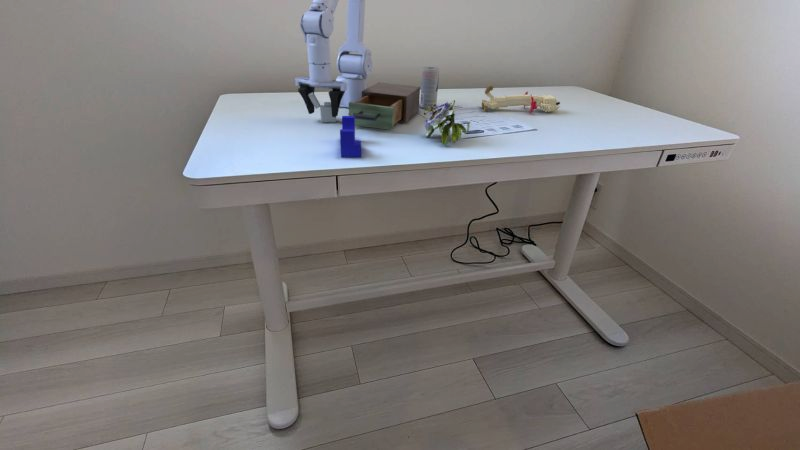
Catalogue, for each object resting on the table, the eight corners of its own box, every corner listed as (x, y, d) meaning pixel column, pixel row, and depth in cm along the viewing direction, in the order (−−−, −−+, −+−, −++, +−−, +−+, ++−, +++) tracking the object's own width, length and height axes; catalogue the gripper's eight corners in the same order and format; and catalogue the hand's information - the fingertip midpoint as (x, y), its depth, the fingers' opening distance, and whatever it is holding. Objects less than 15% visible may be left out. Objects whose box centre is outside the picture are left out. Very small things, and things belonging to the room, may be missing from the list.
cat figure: (485, 117, 125) (564, 113, 124) (487, 89, 120) (569, 85, 120) (479, 109, 133) (553, 105, 133) (481, 82, 129) (557, 78, 128)
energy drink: (436, 105, 131) (439, 67, 125) (436, 109, 126) (439, 70, 120) (420, 104, 131) (422, 66, 125) (419, 108, 127) (421, 69, 120)
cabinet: (405, 123, 112) (406, 96, 108) (361, 117, 116) (361, 91, 112) (418, 111, 123) (420, 86, 119) (378, 106, 127) (378, 82, 123)
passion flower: (427, 156, 105) (419, 113, 106) (467, 149, 105) (458, 106, 106) (431, 146, 94) (421, 98, 94) (475, 138, 94) (465, 89, 95)
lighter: (336, 120, 112) (334, 91, 108) (336, 122, 110) (334, 93, 106) (310, 120, 111) (308, 91, 107) (310, 122, 110) (308, 93, 105)
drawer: (386, 135, 100) (386, 112, 97) (342, 128, 103) (341, 106, 100) (406, 118, 114) (407, 97, 111) (366, 112, 117) (366, 92, 114)
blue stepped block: (361, 157, 89) (360, 131, 86) (341, 157, 88) (339, 131, 85) (361, 139, 99) (360, 116, 96) (343, 139, 99) (342, 115, 95)
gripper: (287, 62, 101) (292, 115, 108) (337, 67, 98) (340, 121, 105) (301, 58, 107) (305, 108, 114) (349, 63, 103) (351, 115, 110)
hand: (323, 114), depth 110 cm, fingers closed on lighter, 7 cm apart
